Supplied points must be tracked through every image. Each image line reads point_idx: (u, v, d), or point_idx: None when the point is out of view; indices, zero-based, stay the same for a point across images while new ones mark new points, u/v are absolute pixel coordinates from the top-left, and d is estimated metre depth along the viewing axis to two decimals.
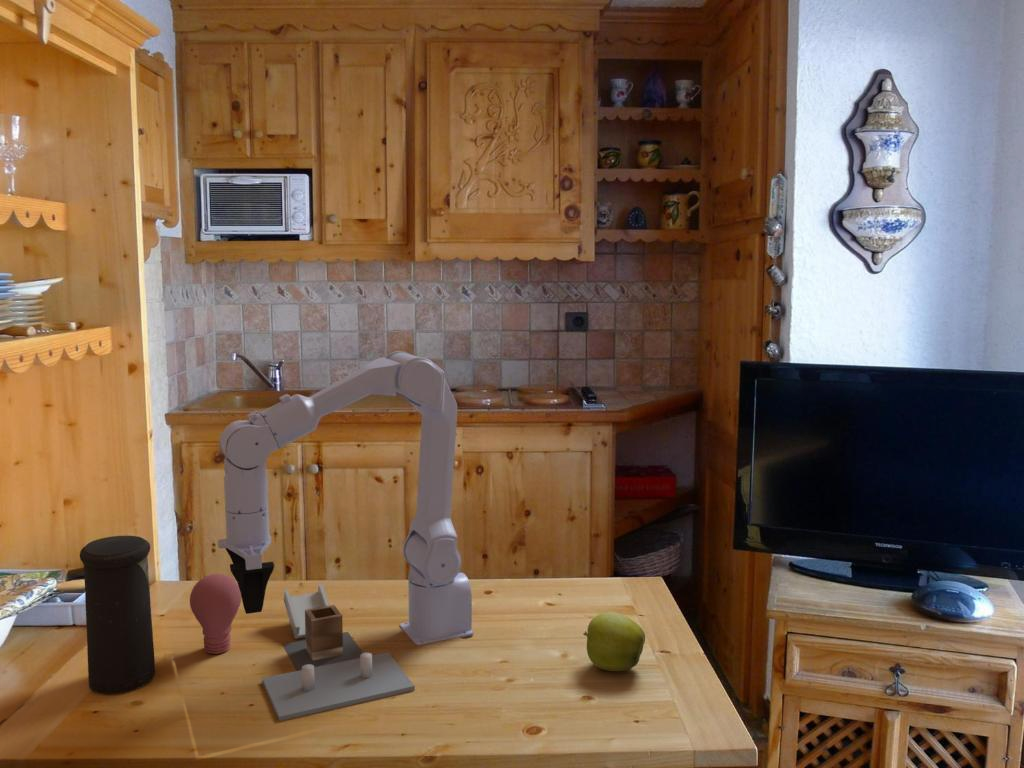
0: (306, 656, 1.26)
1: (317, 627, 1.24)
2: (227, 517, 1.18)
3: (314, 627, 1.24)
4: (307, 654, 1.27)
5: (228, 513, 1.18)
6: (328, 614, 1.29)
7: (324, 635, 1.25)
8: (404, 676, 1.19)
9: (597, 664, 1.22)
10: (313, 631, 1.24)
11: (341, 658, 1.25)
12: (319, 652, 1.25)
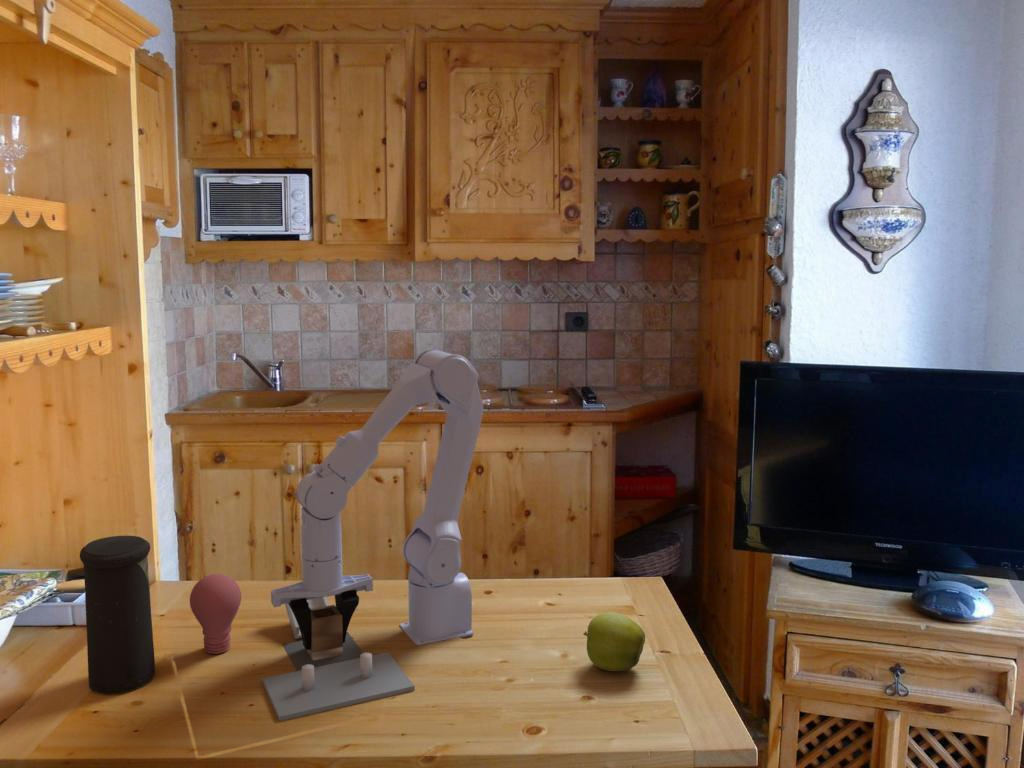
0: (306, 656, 1.26)
1: (317, 627, 1.24)
2: None
3: (314, 627, 1.24)
4: (307, 654, 1.27)
5: None
6: (328, 614, 1.29)
7: (324, 635, 1.25)
8: (404, 676, 1.19)
9: (597, 664, 1.22)
10: (313, 631, 1.24)
11: (341, 658, 1.25)
12: (319, 652, 1.25)
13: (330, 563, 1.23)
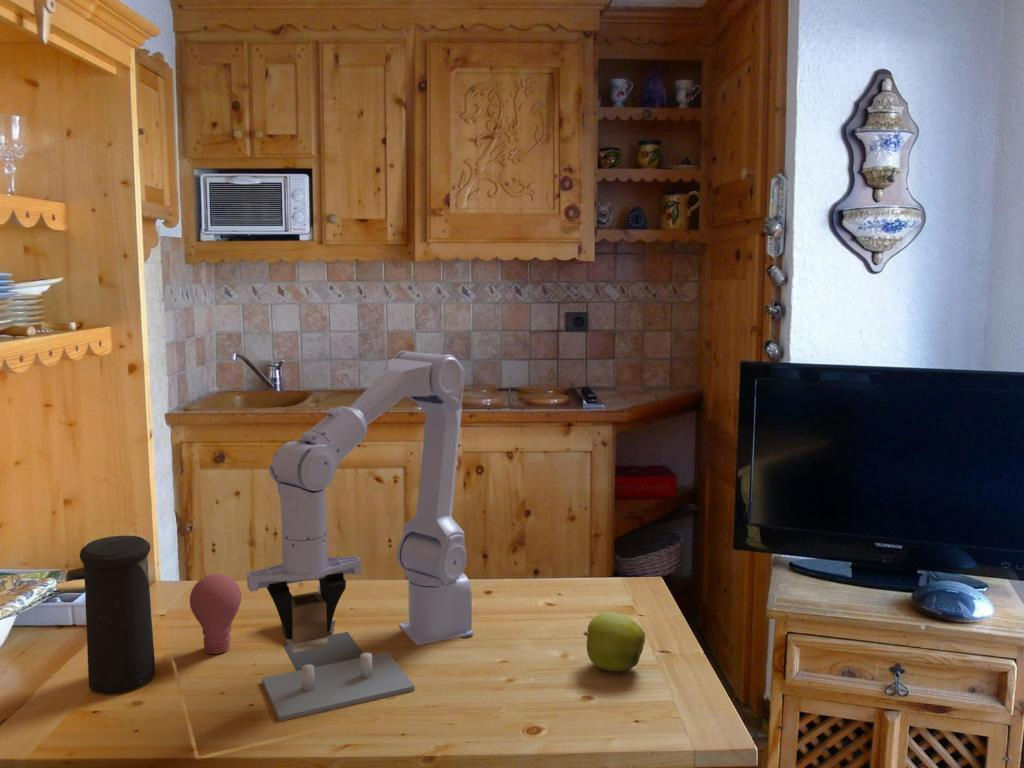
0: (306, 656, 1.26)
1: (298, 615, 1.12)
2: None
3: (295, 615, 1.11)
4: (307, 654, 1.27)
5: None
6: (311, 602, 1.16)
7: (306, 624, 1.12)
8: (404, 676, 1.19)
9: (597, 664, 1.22)
10: (294, 620, 1.11)
11: (341, 658, 1.25)
12: (301, 643, 1.12)
13: (313, 542, 1.10)
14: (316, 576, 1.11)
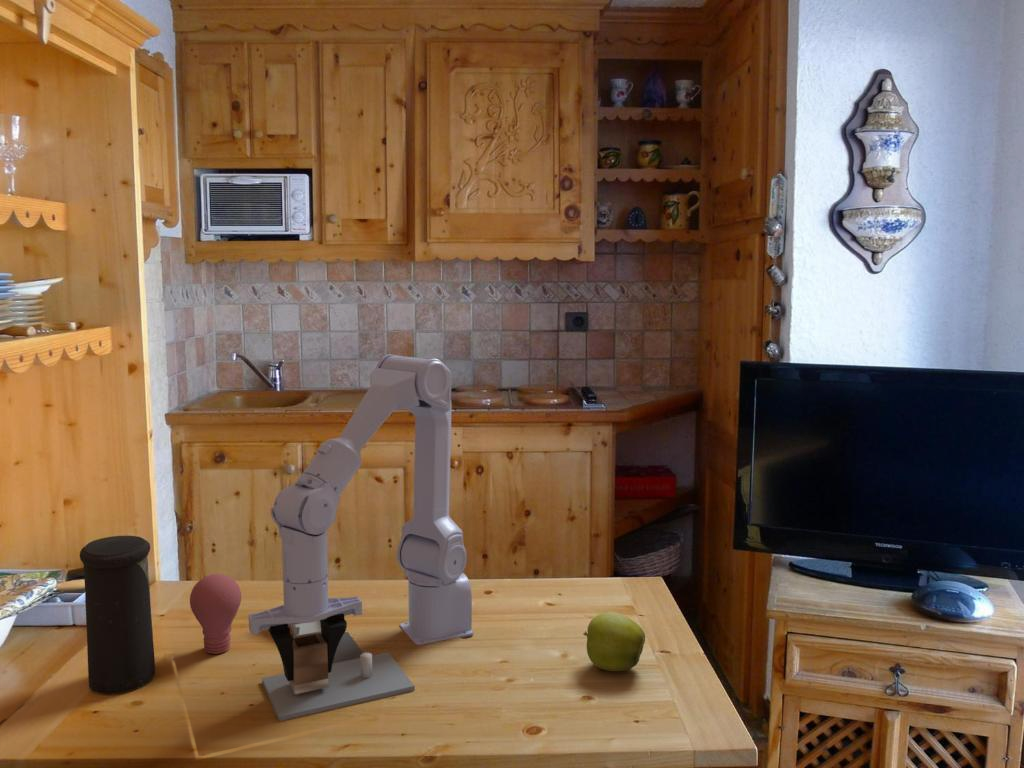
0: None
1: (299, 657, 1.12)
2: None
3: (296, 657, 1.12)
4: None
5: None
6: (312, 642, 1.17)
7: (308, 666, 1.13)
8: (404, 676, 1.19)
9: (597, 664, 1.22)
10: (295, 662, 1.12)
11: (341, 658, 1.25)
12: (302, 685, 1.13)
13: (314, 585, 1.11)
14: (317, 618, 1.12)
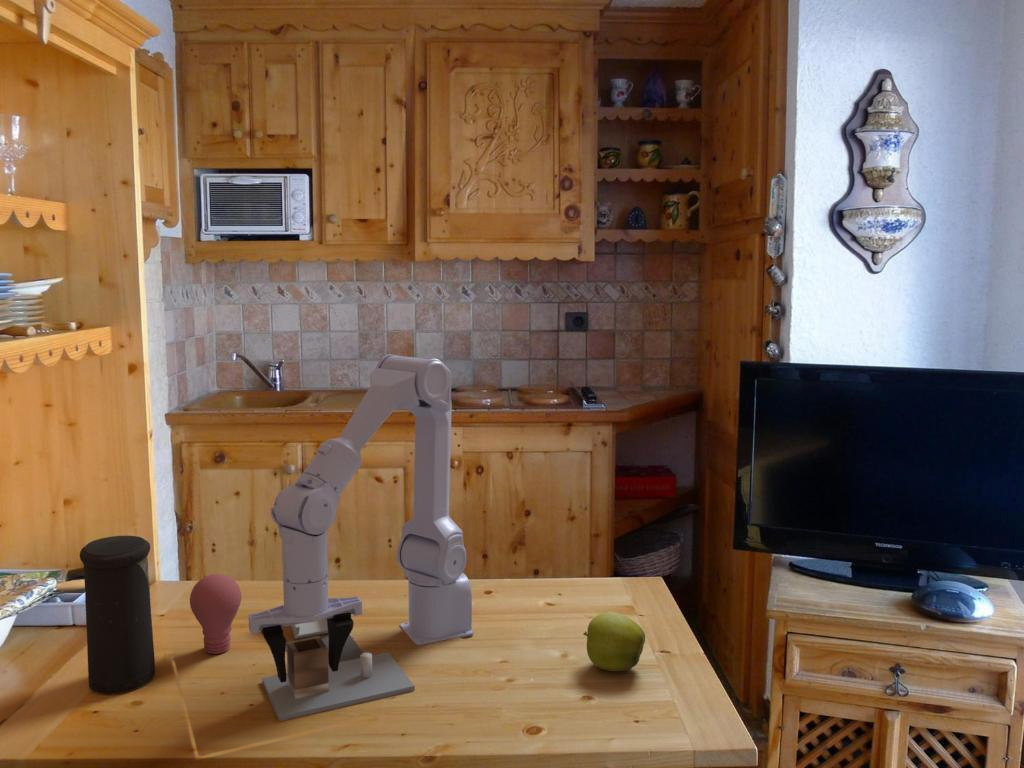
0: None
1: (299, 662, 1.12)
2: None
3: (297, 662, 1.12)
4: None
5: None
6: (312, 646, 1.17)
7: (308, 670, 1.13)
8: (404, 676, 1.19)
9: (597, 664, 1.22)
10: (295, 666, 1.12)
11: (341, 658, 1.25)
12: (302, 689, 1.13)
13: (314, 585, 1.11)
14: (317, 618, 1.12)
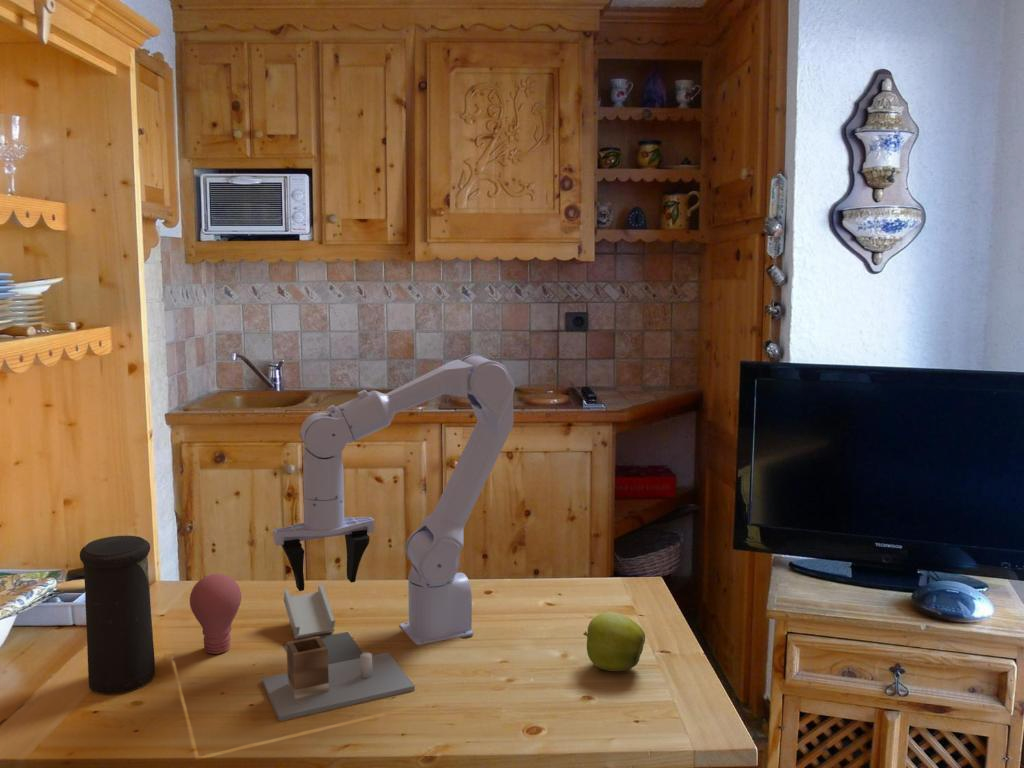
0: None
1: (299, 662, 1.12)
2: None
3: (297, 662, 1.12)
4: None
5: None
6: (312, 646, 1.17)
7: (308, 670, 1.13)
8: (404, 676, 1.19)
9: (597, 664, 1.22)
10: (295, 666, 1.12)
11: (341, 658, 1.25)
12: (302, 689, 1.13)
13: (332, 502, 1.24)
14: (335, 532, 1.25)
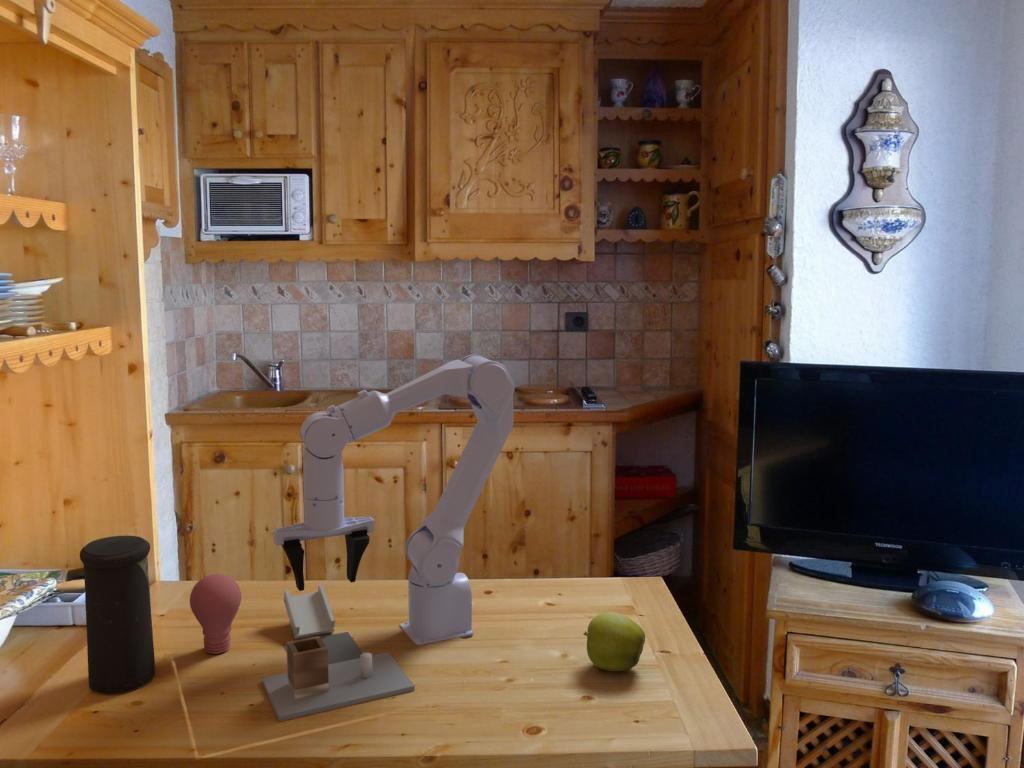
0: None
1: (299, 662, 1.12)
2: None
3: (297, 662, 1.12)
4: None
5: None
6: (312, 646, 1.17)
7: (308, 670, 1.13)
8: (404, 676, 1.19)
9: (597, 664, 1.22)
10: (295, 666, 1.12)
11: (341, 658, 1.25)
12: (302, 689, 1.13)
13: (332, 502, 1.24)
14: (335, 532, 1.25)
